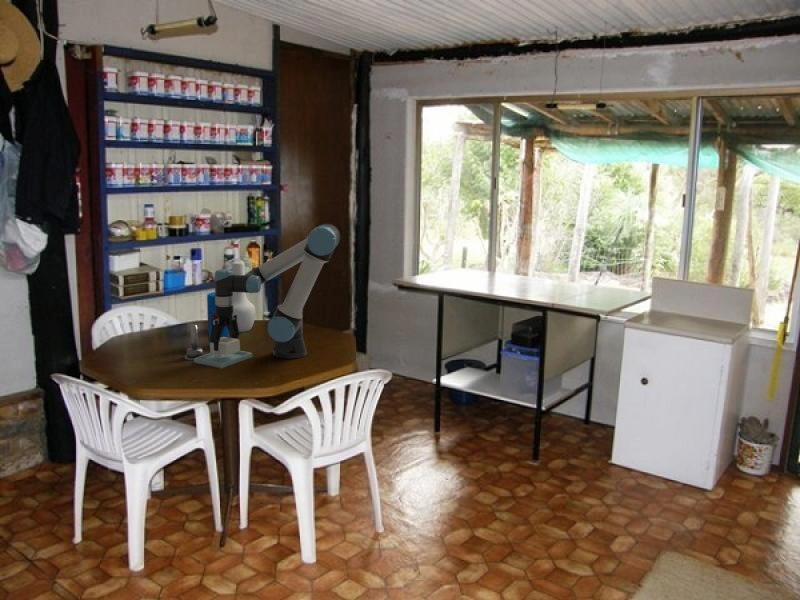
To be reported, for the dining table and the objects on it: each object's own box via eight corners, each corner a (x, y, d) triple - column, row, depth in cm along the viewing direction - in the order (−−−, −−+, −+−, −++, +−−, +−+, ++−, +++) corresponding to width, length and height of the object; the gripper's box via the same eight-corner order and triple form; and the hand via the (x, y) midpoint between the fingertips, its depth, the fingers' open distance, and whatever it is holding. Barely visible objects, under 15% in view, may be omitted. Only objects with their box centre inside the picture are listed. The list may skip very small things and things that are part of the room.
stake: (209, 356, 319) (208, 324, 316) (195, 361, 311) (194, 328, 308) (194, 353, 323) (193, 321, 320) (180, 358, 315) (178, 325, 312)
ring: (239, 350, 315) (239, 339, 314) (226, 355, 307) (225, 344, 306) (220, 346, 320) (220, 336, 319) (206, 351, 312) (206, 340, 311)
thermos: (225, 349, 331) (224, 297, 326) (204, 347, 333) (203, 295, 328) (235, 343, 341) (234, 292, 336) (215, 342, 343) (213, 291, 338)
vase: (221, 326, 373) (220, 260, 366) (253, 325, 378) (252, 259, 371) (223, 334, 358) (222, 265, 351) (257, 332, 363) (256, 264, 356)
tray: (252, 357, 320) (252, 352, 320) (221, 368, 302) (221, 364, 302) (225, 352, 327) (225, 347, 326) (194, 362, 309) (194, 358, 309)
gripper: (234, 299, 320) (235, 348, 325) (199, 308, 301) (201, 359, 306) (247, 301, 317) (248, 350, 321) (213, 310, 298) (214, 362, 302)
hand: (225, 354), depth 314 cm, fingers closed on ring, 9 cm apart
